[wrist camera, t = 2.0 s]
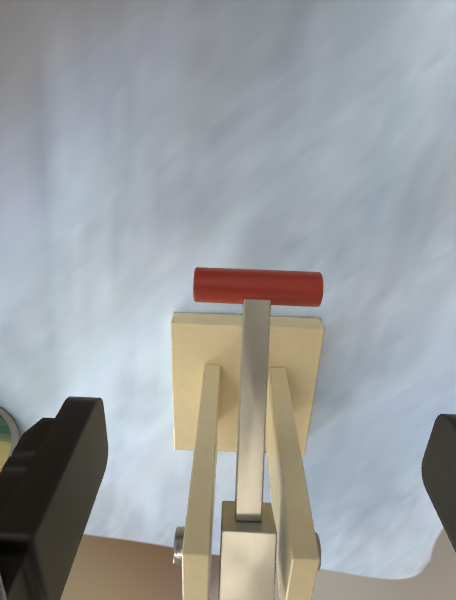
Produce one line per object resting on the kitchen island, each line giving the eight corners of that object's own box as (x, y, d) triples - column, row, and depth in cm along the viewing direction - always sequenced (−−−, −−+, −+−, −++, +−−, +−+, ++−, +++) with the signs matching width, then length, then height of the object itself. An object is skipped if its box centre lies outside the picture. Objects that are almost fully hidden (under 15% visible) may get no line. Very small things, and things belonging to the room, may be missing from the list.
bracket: (173, 311, 26) (120, 498, 14) (320, 317, 26) (391, 509, 14) (176, 435, 30) (137, 657, 19) (302, 440, 30) (344, 665, 19)
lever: (197, 268, 19) (192, 265, 16) (314, 273, 19) (327, 270, 16) (186, 560, 19) (180, 599, 17) (302, 565, 19) (312, 604, 17)
